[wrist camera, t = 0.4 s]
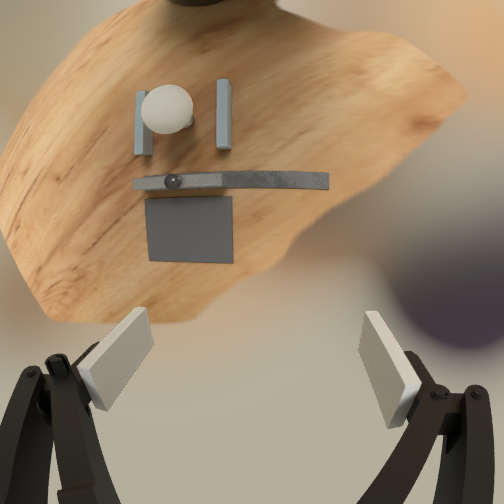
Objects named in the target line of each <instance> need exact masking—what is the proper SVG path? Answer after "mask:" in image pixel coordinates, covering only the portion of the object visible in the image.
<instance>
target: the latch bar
mask: <svg viewBox="0 0 504 504" xmlns="http://www.w3.org/2000/svg"><path fill="white" fill-rule="evenodd" d="M225 185H228V174H196V175H176V174H170V175H167V176H163V177H150V178H139V179H133V190H143V189H158V188H168V189H177V188H178V187H199V186H225Z"/></svg>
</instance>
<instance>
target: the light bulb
mask: <svg viewBox="0 0 504 504" xmlns="http://www.w3.org/2000/svg"><path fill="white" fill-rule="evenodd" d="M192 112H193V103H192V99H191V97H190V95H189V94H188V93H187V92H186V91H185V90H184V89H183V88H181V87H179V86H176V85H162V86H159V87H157V88H155V89H153V90H152V91H151V92H150V93H148V95H147V96H146V97H145V99H144V101H143V103H142V108H141V115H142V119H143V121H144V123H145V125H146V126H147V127H148V128H149V129H150V130H152V131H154V132H156V133H159V134H171V133H174V132H177V131H179V130H180V129H182V128H183V129H184V128H188V127H189V126H190V125H191V124H192V123H193V119H194V118H193V114H192Z"/></svg>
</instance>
